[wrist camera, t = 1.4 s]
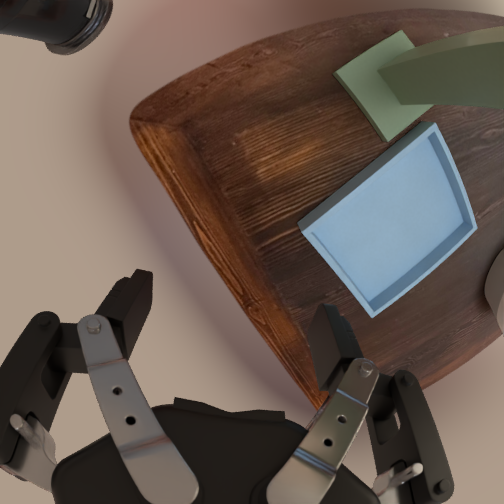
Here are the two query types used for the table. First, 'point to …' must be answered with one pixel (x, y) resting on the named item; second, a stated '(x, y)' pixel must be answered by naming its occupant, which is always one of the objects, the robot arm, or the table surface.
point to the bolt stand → (425, 77)
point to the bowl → (496, 289)
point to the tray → (393, 219)
